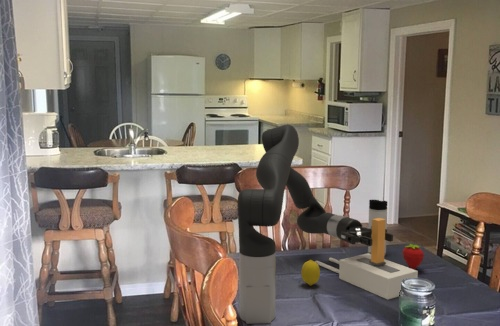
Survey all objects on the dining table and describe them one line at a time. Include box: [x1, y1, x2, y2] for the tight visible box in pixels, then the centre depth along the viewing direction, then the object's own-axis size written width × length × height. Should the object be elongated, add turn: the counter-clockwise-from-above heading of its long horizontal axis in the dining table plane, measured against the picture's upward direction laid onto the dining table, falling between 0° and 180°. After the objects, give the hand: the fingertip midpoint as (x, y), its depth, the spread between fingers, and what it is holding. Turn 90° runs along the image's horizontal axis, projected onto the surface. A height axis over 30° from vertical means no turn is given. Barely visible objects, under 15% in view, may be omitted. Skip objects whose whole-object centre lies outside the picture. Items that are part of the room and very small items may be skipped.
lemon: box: [301, 259, 321, 287], centre depth 159 cm, size 6×6×8 cm
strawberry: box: [402, 241, 425, 270], centre depth 172 cm, size 6×8×10 cm
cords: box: [314, 257, 340, 274], centre depth 175 cm, size 14×7×1 cm, turn 32°
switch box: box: [338, 252, 419, 301], centre depth 160 cm, size 20×12×6 cm, turn 32°
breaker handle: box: [369, 218, 386, 266], centre depth 158 cm, size 4×3×14 cm
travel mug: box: [367, 199, 388, 257], centre depth 188 cm, size 6×7×20 cm
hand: (382, 240), depth 157 cm, fingers open, 8 cm apart
